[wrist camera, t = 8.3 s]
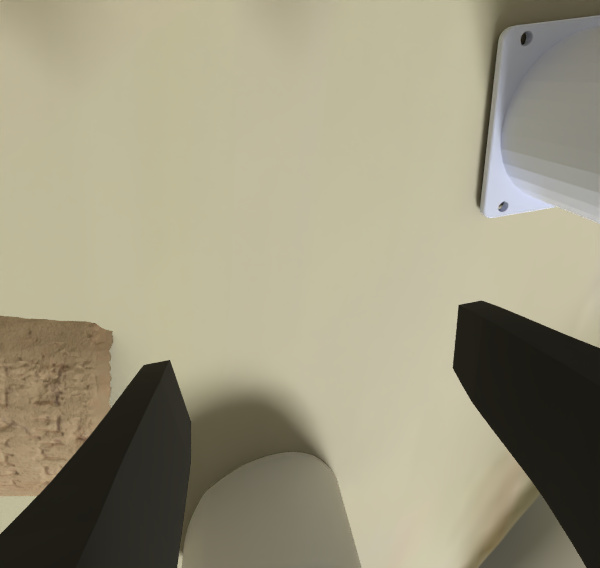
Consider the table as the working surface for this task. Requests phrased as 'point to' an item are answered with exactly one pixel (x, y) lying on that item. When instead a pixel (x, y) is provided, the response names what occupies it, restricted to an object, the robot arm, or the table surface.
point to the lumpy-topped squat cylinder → (272, 518)
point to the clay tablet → (48, 397)
